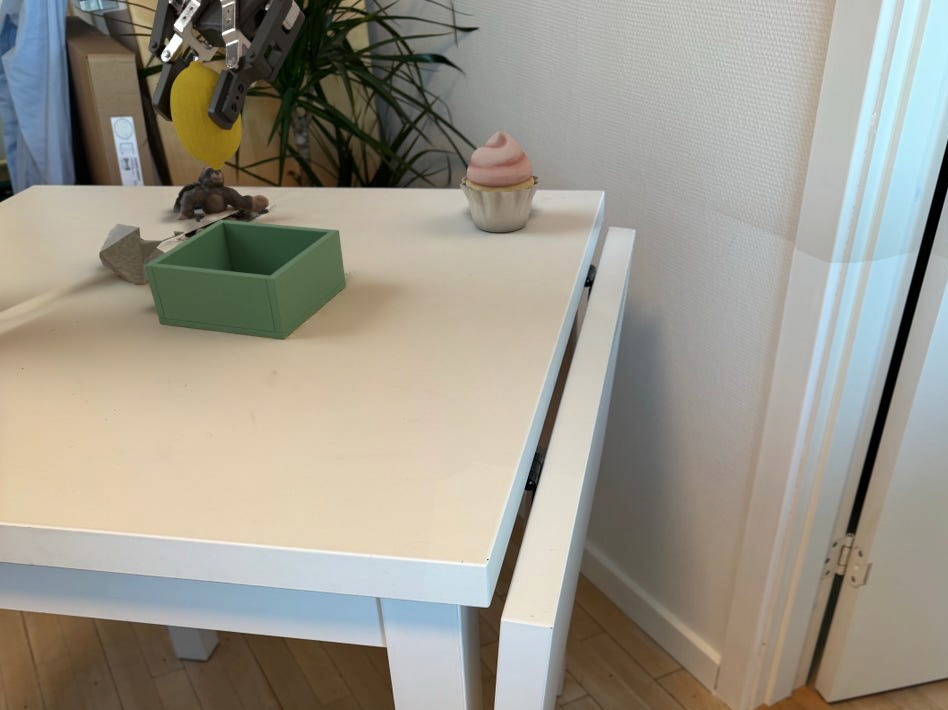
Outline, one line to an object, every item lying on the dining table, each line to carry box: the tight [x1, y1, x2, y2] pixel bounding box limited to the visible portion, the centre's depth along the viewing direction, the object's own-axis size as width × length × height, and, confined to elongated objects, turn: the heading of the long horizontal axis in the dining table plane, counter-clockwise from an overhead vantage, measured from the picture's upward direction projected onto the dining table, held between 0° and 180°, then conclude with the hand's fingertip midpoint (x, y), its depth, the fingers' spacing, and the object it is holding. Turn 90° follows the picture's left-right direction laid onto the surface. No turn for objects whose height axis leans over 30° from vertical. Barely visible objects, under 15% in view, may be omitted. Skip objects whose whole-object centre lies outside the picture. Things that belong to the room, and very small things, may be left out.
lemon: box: [170, 61, 243, 170], centre depth 75 cm, size 6×6×8 cm
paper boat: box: [98, 223, 185, 286], centre depth 95 cm, size 12×6×9 cm
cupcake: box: [459, 130, 541, 233], centre depth 104 cm, size 9×9×10 cm
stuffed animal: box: [173, 165, 270, 239], centre depth 110 cm, size 12×10×12 cm
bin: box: [145, 219, 347, 340], centre depth 89 cm, size 14×14×6 cm
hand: (190, 119), depth 73 cm, fingers closed on lemon, 5 cm apart
